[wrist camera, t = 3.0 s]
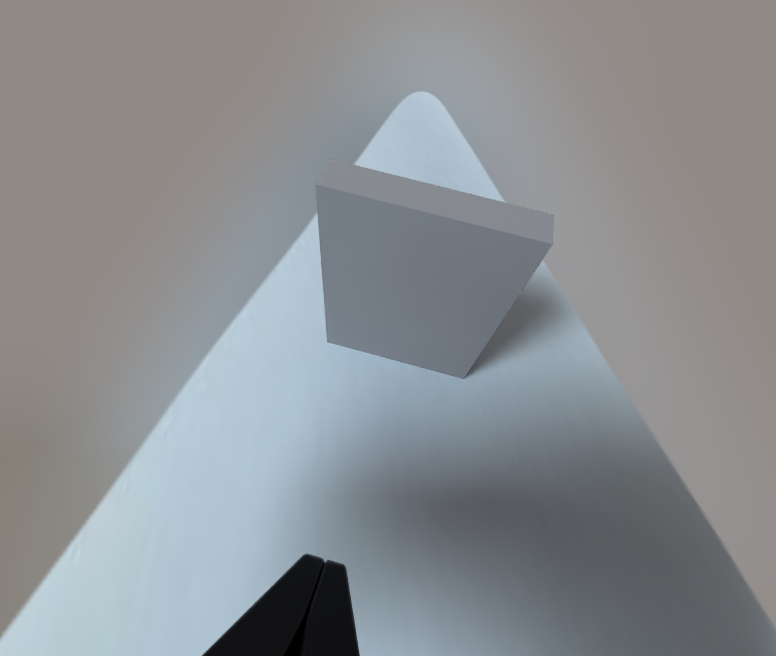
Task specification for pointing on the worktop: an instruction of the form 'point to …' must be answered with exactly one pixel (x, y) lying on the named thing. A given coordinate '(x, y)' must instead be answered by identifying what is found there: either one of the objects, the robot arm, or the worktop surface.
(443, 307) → the tile
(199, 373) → the worktop surface
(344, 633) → the robot arm
